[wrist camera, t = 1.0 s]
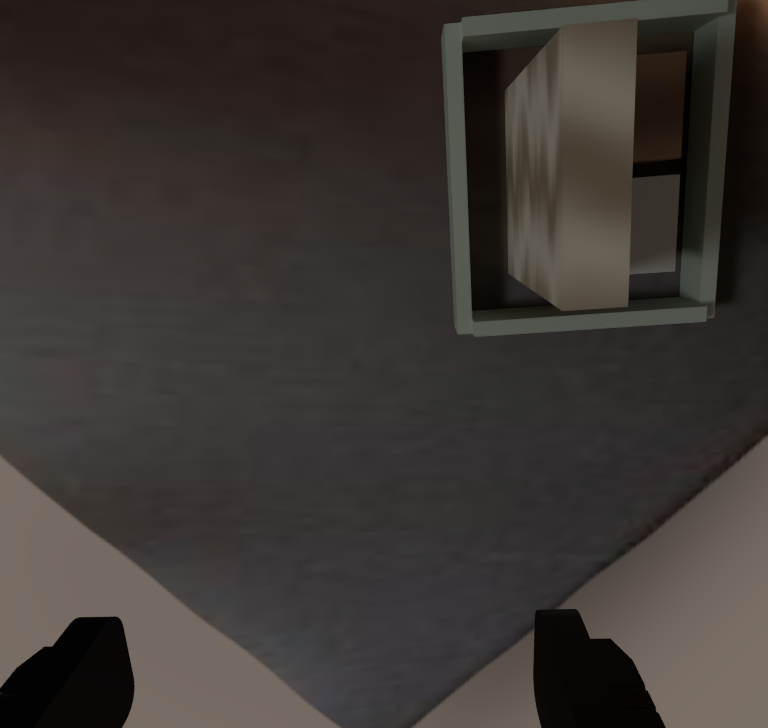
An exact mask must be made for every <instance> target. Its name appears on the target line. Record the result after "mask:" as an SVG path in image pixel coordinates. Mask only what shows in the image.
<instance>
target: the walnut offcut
mask: <svg viewBox="0 0 768 728" xmlns="http://www.w3.org/2000/svg"><path fill="white" fill-rule="evenodd" d="M686 56H687V51H680V52H668V53H657V54H646V55H636V84H635V114H634V144H633V165H639V164H646V163H652V162H659V161H665V160H671V159H677V158H681V150H682V131H683V112H684V94H685V75H686Z"/></svg>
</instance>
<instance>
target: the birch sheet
mask: <svg viewBox="0 0 768 728" xmlns="http://www.w3.org/2000/svg"><path fill="white" fill-rule="evenodd" d="M637 23H638V18H632V19H621V20H610V21H600V22H589V23H578V24H568V25H563V26H562V27H561V28H560V30H559V31H558V32H557V33H556V34H555V35H554V36H553V37H552V38H551V40H550V41H549V42H548V43H547V44H546V45H545V46H544V47H543V49H542V50H541V51H540V52H539V53H538V54H537V55H536V56H535V58H534V59H533V60H532V61H531V62H530V63H529V64H528V65H527V67H526V68H525V69H524V70H523V71H522V72H521V73H520V74H519V76H518V77H517V78H516V79H515V80H514V81H513V82H512V83H511V85H510V86H509V87H508V88H507V89H506V90H505V127H506V176H507V225H508V274H510V275H511V276H513V277H514V278H516V279H517V280H518V281H520V282H521V283H523V284H524V285H526V286H527V287H528V288H530V289H531V290H533V291H534V292H536V293H537V294H539V295H540V296H541V297H543V298H544V299H546V300H547V301H549V302H550V303H551V304H553V305H554V306H556V307H557V308H559V309H560V310H562V311H573V310H588V309H602V308H617V307H628V295H629V265H630V235H631V205H632V174H633V144H634V114H635V84H636V54H637Z"/></svg>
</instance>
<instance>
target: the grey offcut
mask: <svg viewBox="0 0 768 728" xmlns="http://www.w3.org/2000/svg"><path fill="white" fill-rule="evenodd" d="M679 186H680V174H677V175H664V176H652V177H639V178H632V205H631V235H630V265H629V274H641V273H656V272H670V271H675V261H676V242H677V223H678V204H679Z"/></svg>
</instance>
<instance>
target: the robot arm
mask: <svg viewBox="0 0 768 728" xmlns="http://www.w3.org/2000/svg"><path fill="white" fill-rule="evenodd" d="M533 681H534V693H535V701H536V707H537V712H538V716H539V720H540V724H541V728H666V727H665V725H664V723H663V721H662V719H661V717H660V715H659V713H657V712H656V707H655V705H654V703H653V701H652V699H651V697H650V695H649V693H648V691H646V689H645V684H644V682H643V680H642V678H641V676H640V674H639V673H638V671H637V668H636V666H635V664H634V662H633V660H632V659H631V658H630V657H629V656H628V655H627V654H626V653H625V652H623V650H622V649H621V648H619V647H618V646H617V645H616V644H615V643H614V642H613V641H612V640H611V639H590V637H589V635H588V632H587V630H586V627H585V625H584V623H583V620H582V618H581V616H580V614H579V612H578V611H577V610H576V609H558V610H537V611H536V613H535V631H534V669H533ZM133 697H134V677H133V672H132V667H131V662H130V657H129V652H128V647H127V642H126V638H125V633H124V628H123V624H122V621H121V620H120V619H119V618H118V617H79V618H76V619H75V620H73V622H71V623H70V625H69V626H68V627H67V628H66V630H65V631H64V632H63V634H62V635H61V636H60V637H59V639H58V640H57V641H56V643H55V644H54V645H53V646H52V647H44V648H43V649H41V650H40V651H38V652H37V653H36V654H34V655H33V656H32V657H31V658H29V659H28V660H27V661H25V662H24V663H23V664H21V665H20V666H19V667H17V668H16V669H15V671H14V672H13V673H12V674H11V676H10V677H9V678H8V679H7V680H6V682H5V683H4V684H3V685H2V687H1V688H0V728H122V727H123V725H124V723H125V721H126V719H127V717H128V715H129V712H130V710H131V706H132V702H133Z"/></svg>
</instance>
